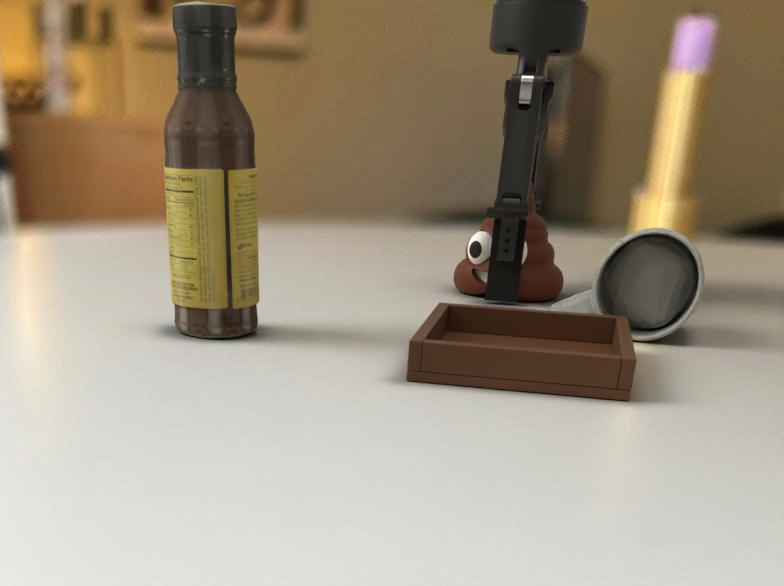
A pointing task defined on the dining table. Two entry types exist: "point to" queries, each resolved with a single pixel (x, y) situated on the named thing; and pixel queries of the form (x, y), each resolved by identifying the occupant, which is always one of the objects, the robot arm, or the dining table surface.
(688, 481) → the dining table surface
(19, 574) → the dining table surface
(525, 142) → the robot arm
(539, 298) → the poop emoji
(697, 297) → the ceramic mug
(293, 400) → the dining table surface
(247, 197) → the sauce bottle
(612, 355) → the walnut tray
